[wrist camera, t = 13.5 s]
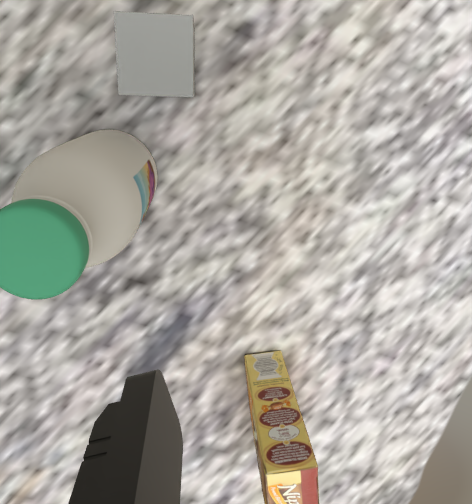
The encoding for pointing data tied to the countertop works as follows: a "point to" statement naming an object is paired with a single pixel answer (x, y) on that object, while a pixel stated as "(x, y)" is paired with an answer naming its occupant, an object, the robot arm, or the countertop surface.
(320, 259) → the countertop surface
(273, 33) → the countertop surface
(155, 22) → the slate block
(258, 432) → the candy box
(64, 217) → the milk bottle
